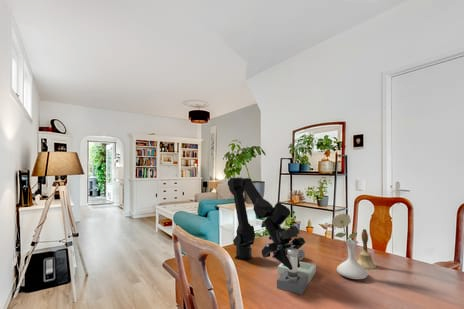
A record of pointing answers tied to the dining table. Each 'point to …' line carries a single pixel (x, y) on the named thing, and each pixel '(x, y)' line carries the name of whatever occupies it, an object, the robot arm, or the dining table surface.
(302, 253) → the flashlight
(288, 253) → the frosted bulb
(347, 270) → the flower in vase
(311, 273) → the parts tray
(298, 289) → the socket block
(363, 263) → the hand bell
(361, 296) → the dining table surface
